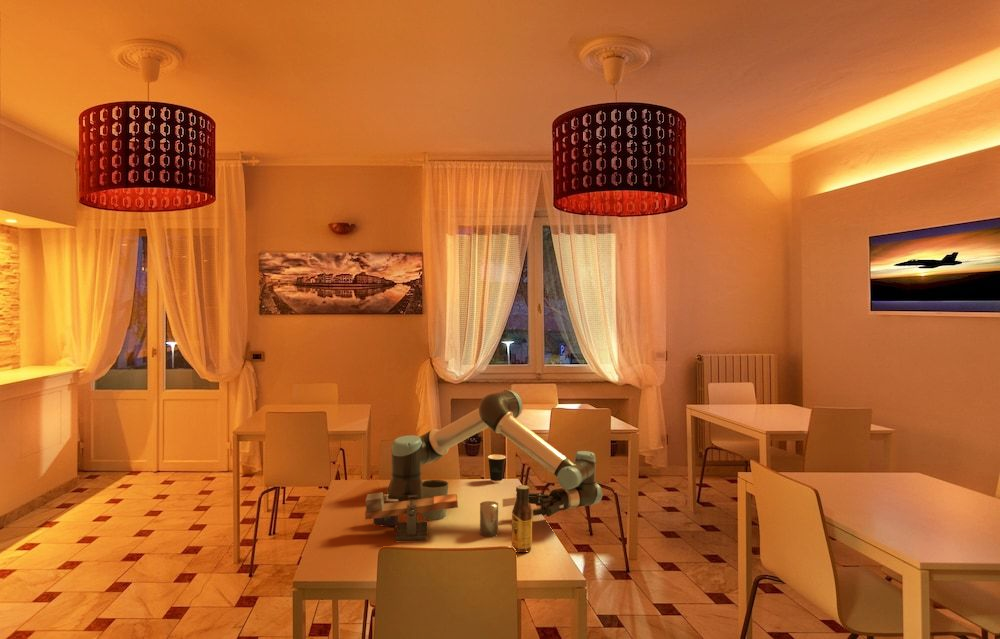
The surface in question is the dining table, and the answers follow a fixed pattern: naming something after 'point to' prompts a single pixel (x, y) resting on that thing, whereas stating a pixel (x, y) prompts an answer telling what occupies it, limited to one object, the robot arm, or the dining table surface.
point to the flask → (391, 519)
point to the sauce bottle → (522, 521)
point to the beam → (379, 509)
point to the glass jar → (488, 519)
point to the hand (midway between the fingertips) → (513, 508)
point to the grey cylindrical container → (431, 490)
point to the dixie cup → (496, 467)
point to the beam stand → (411, 526)
